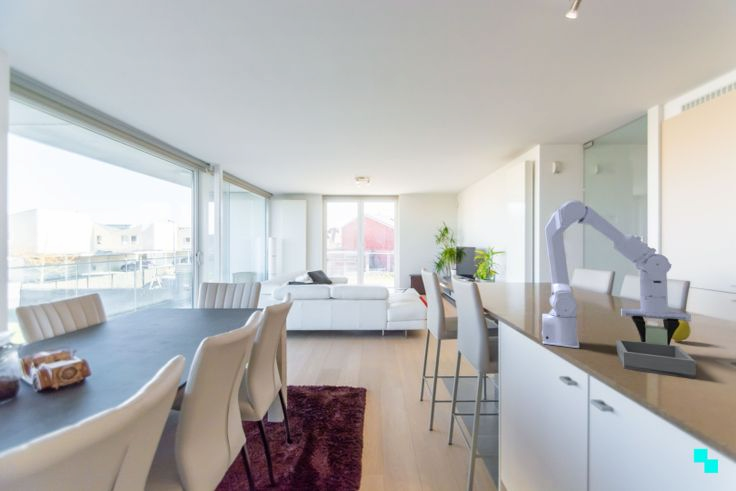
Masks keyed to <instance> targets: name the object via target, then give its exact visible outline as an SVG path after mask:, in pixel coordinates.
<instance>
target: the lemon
mask: <svg viewBox="0 0 736 491" xmlns="http://www.w3.org/2000/svg"><path fill="white" fill-rule="evenodd" d="M678 321H679V322H680V325H679V327H678V328H677V329H676V331H675V332H674V334H673V336H672V339H671V340H673V341H675V342H676V343H680V342H681V341H685V340H687V339H688V338H689V337H690V334H691V329H690V326H689V323H688V321H681V320H678Z"/></svg>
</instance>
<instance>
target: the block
mask: <svg viewBox="0 0 736 491" xmlns="http://www.w3.org/2000/svg"><path fill="white" fill-rule="evenodd" d="M645 338H646V343H655V344H665V345H668V344H667V329H665V328H664V325H663V326H662V325H652V324H645Z"/></svg>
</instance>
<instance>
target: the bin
mask: <svg viewBox="0 0 736 491" xmlns="http://www.w3.org/2000/svg"><path fill="white" fill-rule="evenodd" d="M615 342H616V355H617V357H618V359H619V361H620V363H621V365H622V367H623V369H625V370H633V371H637V372H638V371H640V372H646V373H653V374H659V375H667V376H672V377H673V376H674V377H678V378H679V377H681V378H685V379H686V378H688V379H692V380H693V379H694V380H696V379H697V377H696V373H697V372H696V361H695V359H693V358H692V357H691V355H689V354H688V353H687V352H685V351H684V349H682V348H681V347H680V346H679V345H674V344H670V345H665V344H655V343H646V342H641V341H635V340H626V339H619V338H617V339H616V341H615Z"/></svg>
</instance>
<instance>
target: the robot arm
mask: <svg viewBox="0 0 736 491" xmlns="http://www.w3.org/2000/svg"><path fill="white" fill-rule="evenodd" d="M576 222H577V224H578V225H579V224H580V225H585V226H586V225H587V226H590V227H592V228H593V229H594V230H596V231H597V232H599V233H600V234H602V236H604V237H606V238H607V239H609V240H610V241H612V242H613V245H614V247H613V248H614V249H615V250H616V251H617V252H618V253H620V254H621V255H622V256H623V257H625V258H626V259H628V260H629V261H630V262H631V263H632V264H635V267H636V269H637V270H639V290H640V293H639V294H640V296H639V297H640V298H639V300H640V308H638V309H636V308H635V309H633V308H620V316H621V317H624V318H626V317H631V320H632V322H633V323H634V325H635V327H636V329H637V331H638V335H639V337H640V338H639V339H640V342H646V338H645V325H646V321H645V319H658V320H662V323H663V327H664V328H665V329H667V344H668V345H671V341H672V340H673V339H672V336H673V334H674V332H675V331H676V329H677V328H678V327H679V325H680V322H679V321H678V320H681V321H686V322H687V323H688V322H692V317H691V315H692V314H690V313H688V312H677V311H669V305H668V296H669V295H668V279H667V278H668V276H667V274H668V272H670V270H671V268H672V263H670V261H669V259H668V258H667V256H665V255H663V254H660V253H656V252H657V249H656V248H654V247H651V246H650V247H649V246H648V245H647V244H645V243H644V242H643V241H642V240H641V239H642V238H641V237H640V236H639V235H634V234H631V233H630V234H628V233H627V234H626V233H623V232H622V231H620V230H619V229H618V228H617V227H615V226H614V225H613V224H612V223H611V222H609V221H608V220H607V219H606V218H604V217H603V216H602V215H600V214H599V213H598V212H597V211H596V210H595V209H593V208H592V207H591V206H588V205H585V204H584V203H583V202H582V201H581V200H577V199H570V200H568V201H566V202H565V203H563V204H562V205H561V206H559V208H557V209H556V210H554V211H553V213H552V215H551V217H550V219H549V221H548V222H547V224H546V226H545V227H544V234H545V235H544V236H545V242H546V243H545V244H546V251H547V252H546V253H547V257H548V258H547V260H548V266H549V274H550V282H551V285H550V286H551V288H550V289H551V294H550V296H549V301H548V302H549V304H550V306H551V307H552V309H550V311H549V312H548V313H542V314H541V315H542V316H541V318H542V320H541V321H542V324H541V326H542V329H541V330H542V331H541V337H542V344H543V345H550V346H557V347H565V348H572V349H573V348H575V349H579V348H580V342H579V340H578V321H577V320H578V317H577V316H578V315H577V313H576V312H577V309H578V302H577V301H576V300H575V298H574V297H573V292H572V289H571V285H570V279H569V272H568V264H567V257H566V256H567V255H566V250H565V241H564V232H565V231H567V229H568V228H569V227H570V226H571V225H572V224H574V223H576Z"/></svg>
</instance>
